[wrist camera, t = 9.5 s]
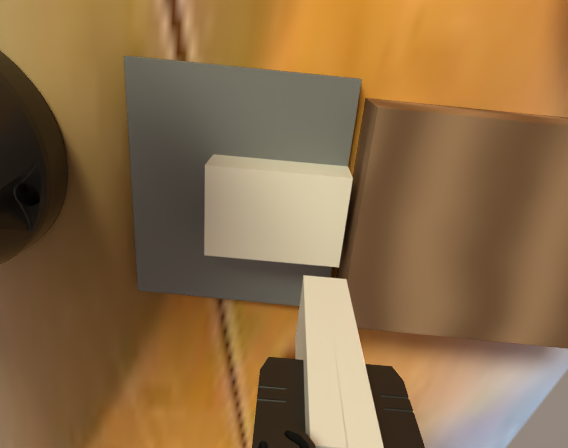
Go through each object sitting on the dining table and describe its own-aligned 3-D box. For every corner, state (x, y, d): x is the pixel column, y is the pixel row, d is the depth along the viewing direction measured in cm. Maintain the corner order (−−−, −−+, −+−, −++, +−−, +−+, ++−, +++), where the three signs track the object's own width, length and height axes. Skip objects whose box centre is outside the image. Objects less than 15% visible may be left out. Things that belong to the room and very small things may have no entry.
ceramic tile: (212, 237, 26) (204, 255, 24) (213, 154, 24) (204, 165, 22) (335, 249, 26) (338, 267, 24) (347, 166, 24) (352, 178, 22)
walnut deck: (334, 290, 29) (339, 326, 25) (365, 98, 23) (377, 107, 20) (547, 311, 29) (583, 349, 25) (625, 123, 24) (685, 137, 20)
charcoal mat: (141, 284, 29) (138, 290, 28) (129, 55, 23) (123, 56, 22) (325, 301, 29) (325, 308, 28) (359, 78, 23) (361, 79, 22)
